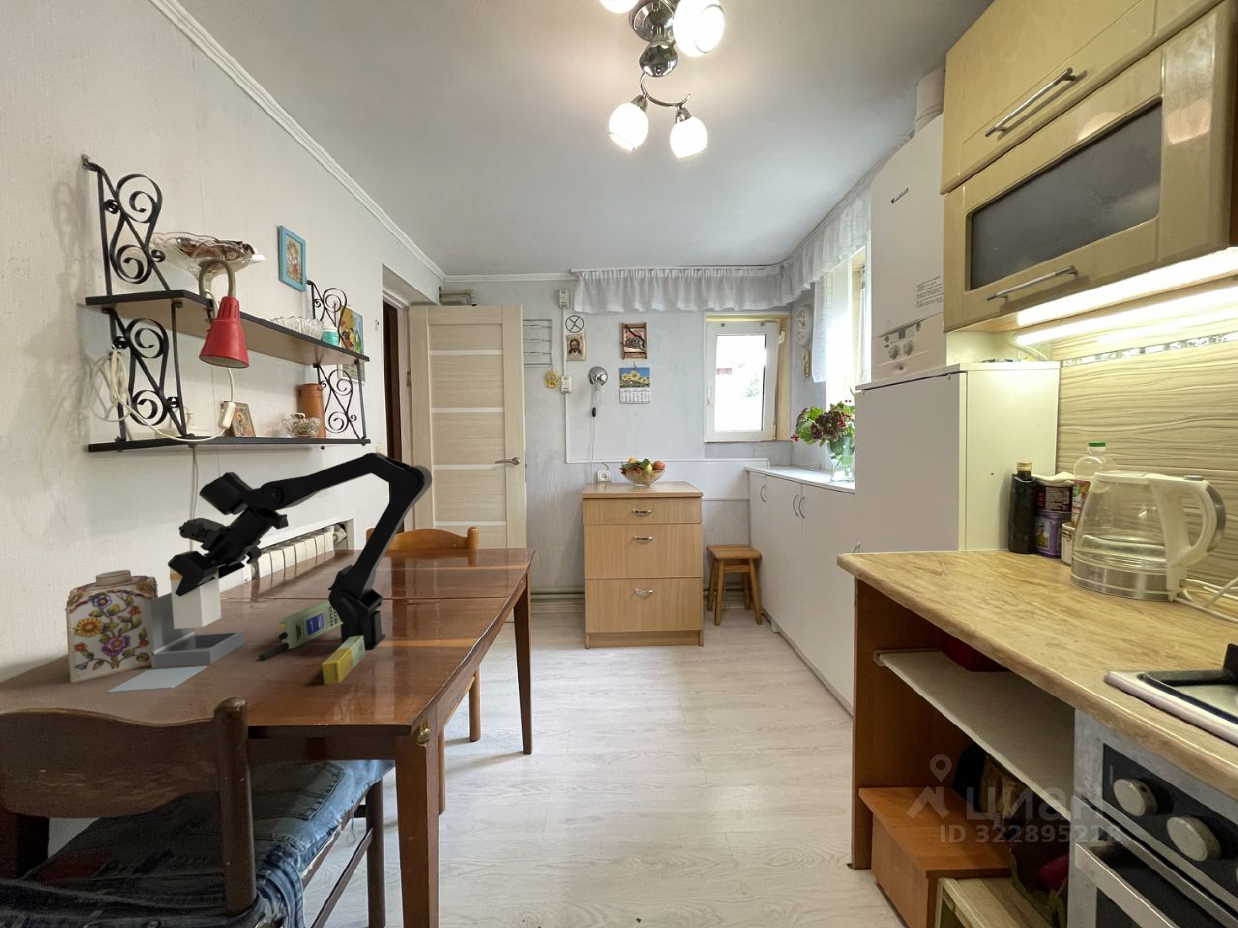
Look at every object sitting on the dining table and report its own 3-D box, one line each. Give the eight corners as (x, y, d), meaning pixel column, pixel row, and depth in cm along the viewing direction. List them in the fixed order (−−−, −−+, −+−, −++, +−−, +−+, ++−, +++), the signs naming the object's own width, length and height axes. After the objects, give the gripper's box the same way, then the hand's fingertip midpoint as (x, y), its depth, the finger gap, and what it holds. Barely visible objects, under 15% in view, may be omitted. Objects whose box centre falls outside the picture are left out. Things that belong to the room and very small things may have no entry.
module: (222, 617, 98) (217, 556, 98) (203, 627, 93) (198, 562, 93) (194, 619, 98) (189, 557, 97) (173, 629, 93) (168, 564, 92)
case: (244, 645, 101) (240, 583, 101) (210, 666, 92) (205, 597, 91) (191, 648, 100) (186, 586, 100) (150, 670, 91) (145, 601, 90)
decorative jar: (160, 664, 93) (153, 571, 92) (69, 686, 85) (60, 585, 85) (163, 646, 102) (156, 561, 101) (81, 664, 94) (73, 572, 94)
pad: (207, 668, 91) (206, 665, 91) (171, 690, 83) (171, 687, 83) (148, 673, 90) (148, 669, 90) (107, 695, 82) (107, 691, 82)
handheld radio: (360, 617, 117) (270, 664, 92) (347, 617, 117) (255, 664, 93) (357, 589, 117) (266, 629, 92) (345, 590, 117) (251, 629, 92)
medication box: (351, 655, 95) (350, 635, 95) (366, 654, 95) (364, 634, 95) (323, 686, 83) (321, 663, 83) (340, 684, 83) (338, 661, 83)
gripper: (242, 498, 104) (188, 553, 103) (175, 509, 86) (109, 576, 85) (284, 532, 106) (232, 586, 105) (228, 551, 87) (164, 617, 86)
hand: (188, 590), depth 95 cm, fingers closed on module, 5 cm apart
